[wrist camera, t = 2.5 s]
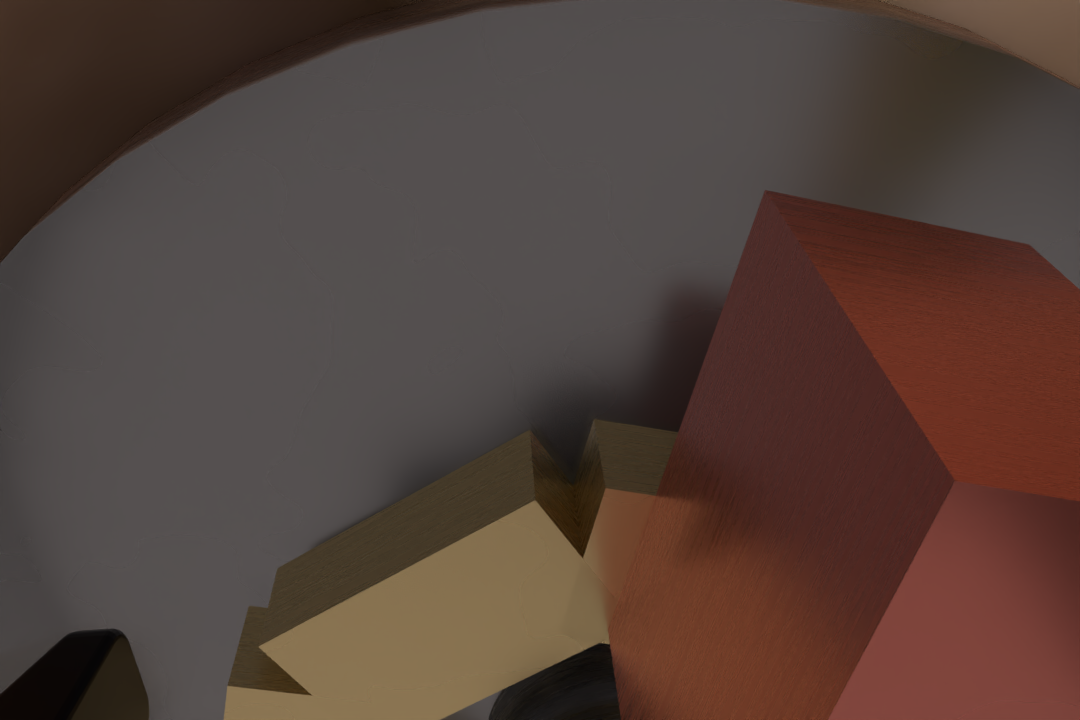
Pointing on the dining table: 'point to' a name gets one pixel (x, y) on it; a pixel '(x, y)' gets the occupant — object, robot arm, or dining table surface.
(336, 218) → the cap plate
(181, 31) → the dining table surface
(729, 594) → the colourful block cluster
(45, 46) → the dining table surface
